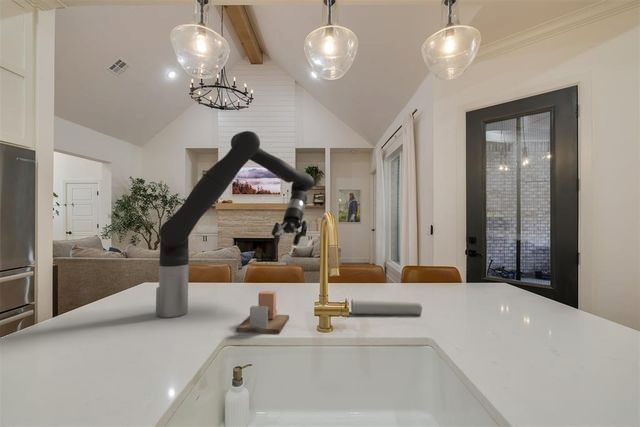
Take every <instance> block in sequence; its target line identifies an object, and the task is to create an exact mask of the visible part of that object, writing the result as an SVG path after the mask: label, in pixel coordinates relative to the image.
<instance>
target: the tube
mask: <svg viewBox="0 0 640 427" xmlns="http://www.w3.org/2000/svg"><path fill="white" fill-rule="evenodd" d="M350 303H351V305H350V306H351V307H350V311H351V312H350V313H351V314H352V315H353V316H354V315H380V316H381V315H388V316H389V315H391V316H393V315H395V316H396V315H399V316H403V315H405V316H407V315H408V316H411V315H412V316H418V315H421V314H422V311H423V306H422V304H421V302H420V301H417V300H375V299H374V300H373V299H365V300H364V299H353V298H352V299H351V300H350Z"/></svg>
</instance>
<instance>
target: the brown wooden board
mask: <svg viewBox="0 0 640 427" xmlns="http://www.w3.org/2000/svg"><path fill="white" fill-rule="evenodd" d="M289 319H290V315H289V314H277V316H275V317H274V319H268V327H267V329H258V328H250V315H249V316H248V317H246V318H245V319H244V320H243V321H242V322H241V323H240V324H239V325H238V326H236V332H237V331H239V333H256V334H257V333H258V334H259V333H260V334H261V333H262V334H281V332H282V330H283V329H284V327H285V325H286V324H287V323H288V321H289Z"/></svg>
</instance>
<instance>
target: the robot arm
mask: <svg viewBox="0 0 640 427" xmlns="http://www.w3.org/2000/svg"><path fill="white" fill-rule="evenodd" d="M260 145H261V140H260V138H259V135H258V134H257V133H255V132H254V131H251V130H250V131H249V130H246V131H241V132H238V133H236V134H235V135H233V136H232V138H231V139H230V147H231V148H230V149H229V151H228V152H227V153H226V155H225V156H223V157H222V158H221V159H220V160H219V161H217V162H216V163H215V164H214V165H213V166H211V167H210V168H209V169H208V170H207V171H206V172H205V173H204V174H203V175H202V177H201V178H200V179H199V180H198V181H197V183H196V184H195V186H193V189H192V190H191V191H190V193H189V195H188V196H187V197H186V200H185V201H184V203H182V205H181V206H180V207H179V208H178V210H177V211H175V213H174V214H173V215H171V216H170V218H169V219H168V220H167V221H166V220H165V222H163V224H162V225H161V227H160V228H159V266H158V267H159V268H158V269H159V272H158V277H159V278H158V280H159V281H158V282H159V283H158V287H156V289H155V292H156V293H155V316H158V317H161V318H166V319H167V318H176V317H181V316H184V315H186V314H187V313H188V312H189V310H188V308H189V257H190V256H189V254H190V253H189V242H190V241H189V240H190V239H189V237H190V235H191V233H192V231H193V230H194V228H195V227H196V225H197V224H198V222H199V221H200V220H201V218H202V217H203V216H204V214H206V213H207V212H208V211H209V209H211V207H212V206H214V204H215V203H216V202H217V201H218V200H219V199H220V197H221V196H222V195H223V194H224V192H225V191H226V190H227V188H228V187H229V186H230V185H231V183H232V182H233V181H234V179H235V177H237V176H238V173H239V172H240V170H242V168H243V167H244V166H245V165H246V164H247V163H248V162H249V161H252V162H253V163H255V164H257V165H259V166H261V167H262V168H264V169H266V170H267V171H269V172H270V173H272V174H273V175H275V176H276V177H278V179H280V180H282V181H284V182H285V183H288V184H289V183H292V184H291V189H290V190H291V191H290V192H291V194H290V195H291V196H290V199H289V201H288V204H287V206H286V209H285V212H284V214H283V221H282V222H281V223H279V222H275V223H274V226H273V228H272V231H271V235H272V237H274V239H273V242H272V243H273V245H274V246H275V247H278V246H279V244H280V243H279V242H280V240H281V237H282V236H283V237H284V236H285V235H286V234H294V233H295V235H294V239H293V241H292V242H293V245H294V246H298V245H299V243H300V240H301V238H302V237H306V236H307V231H308V223H307V221H306V220H303V218H304V215H305V214H304V213H305V209H306V204H307V202H308V194H307V193H306V192H308V191H309V190H311V189H313V188H314V186H315V179H314V177H313V176H311V175H310V174H309V173H307V172H306V171H305V172H304V171H303V170H301V169H300V170H299V169H297V168H295V167H293V166H292V165H290V164H289V163H287V162H286V161H284V160H283V159H281V158H279V157H277V156H275V155H273V154H270V153H269V152H267V151H265V150H263V149H262V148H260V147H261V146H260ZM298 229H300V231H299V230H298Z"/></svg>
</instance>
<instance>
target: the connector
mask: <svg viewBox="0 0 640 427" xmlns="http://www.w3.org/2000/svg"><path fill="white" fill-rule="evenodd" d="M249 316H250V328H258V329H267V327H268V306H258V305H251V306H250V307H249Z"/></svg>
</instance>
